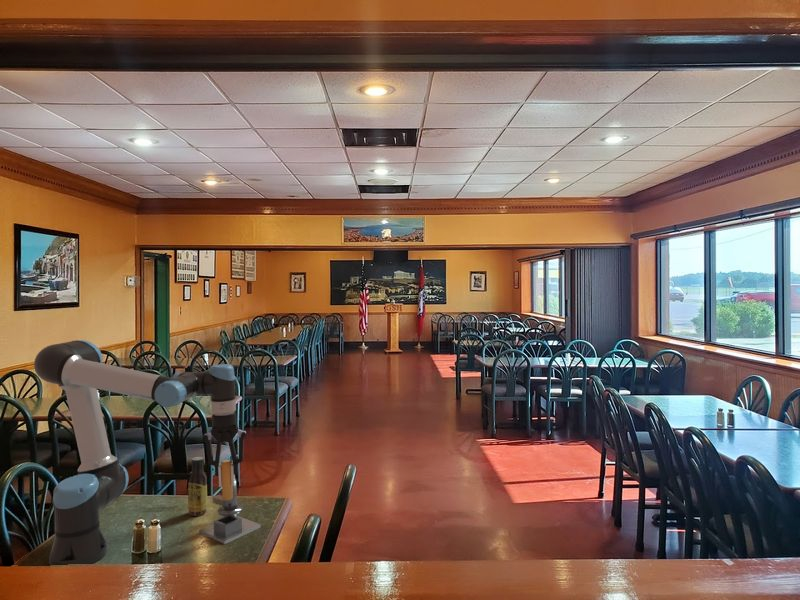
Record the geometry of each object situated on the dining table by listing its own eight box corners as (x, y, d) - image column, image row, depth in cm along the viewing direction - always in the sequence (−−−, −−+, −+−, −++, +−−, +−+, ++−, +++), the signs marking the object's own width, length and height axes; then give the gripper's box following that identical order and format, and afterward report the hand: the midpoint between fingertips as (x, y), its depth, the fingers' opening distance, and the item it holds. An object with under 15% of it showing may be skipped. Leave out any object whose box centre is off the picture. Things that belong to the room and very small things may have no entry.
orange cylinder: (220, 499, 176) (218, 462, 176) (228, 495, 179) (227, 459, 179) (226, 501, 175) (224, 464, 174) (234, 497, 177) (233, 461, 177)
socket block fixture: (190, 529, 182) (188, 484, 182) (226, 514, 193) (224, 472, 193) (224, 544, 171) (223, 496, 170) (260, 527, 182) (259, 482, 182)
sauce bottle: (184, 516, 193) (182, 460, 192) (196, 508, 199) (194, 454, 198) (200, 518, 191) (198, 461, 190) (211, 510, 197) (209, 456, 196)
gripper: (195, 417, 171) (198, 491, 171) (248, 413, 174) (252, 486, 174) (199, 412, 178) (202, 483, 179) (250, 408, 181) (253, 478, 182)
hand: (227, 484), depth 177 cm, fingers closed on orange cylinder, 3 cm apart
